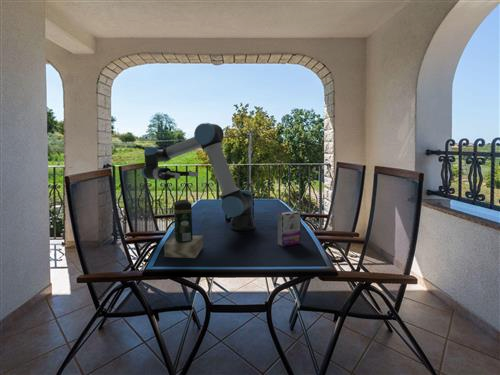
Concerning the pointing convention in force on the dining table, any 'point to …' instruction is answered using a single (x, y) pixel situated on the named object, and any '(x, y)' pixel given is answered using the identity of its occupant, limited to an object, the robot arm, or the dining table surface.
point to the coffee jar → (183, 221)
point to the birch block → (183, 247)
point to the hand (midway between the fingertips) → (188, 175)
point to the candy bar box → (289, 228)
